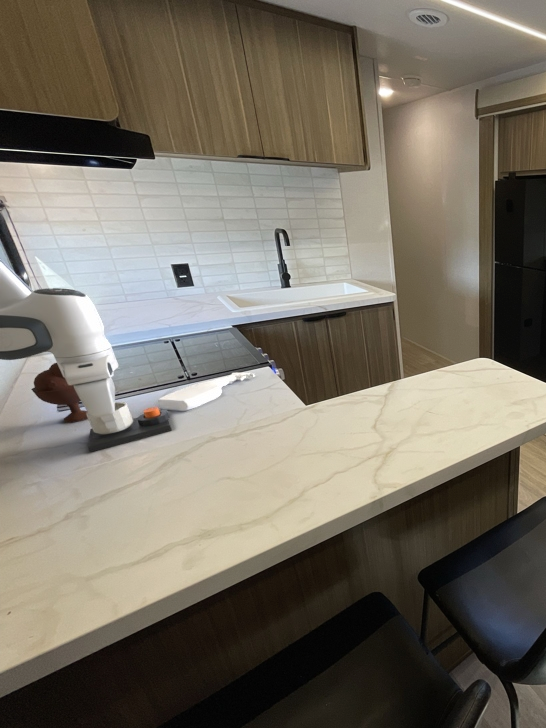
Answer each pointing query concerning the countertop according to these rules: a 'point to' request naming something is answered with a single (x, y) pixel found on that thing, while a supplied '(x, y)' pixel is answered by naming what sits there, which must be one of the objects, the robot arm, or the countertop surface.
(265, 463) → the countertop surface
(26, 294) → the robot arm
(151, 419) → the scale
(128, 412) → the small bowl
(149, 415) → the button
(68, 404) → the ice cream bowl
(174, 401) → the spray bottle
